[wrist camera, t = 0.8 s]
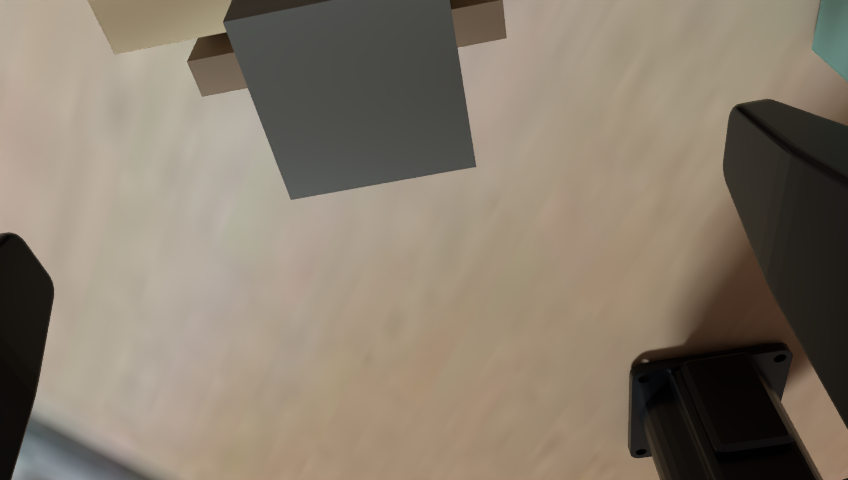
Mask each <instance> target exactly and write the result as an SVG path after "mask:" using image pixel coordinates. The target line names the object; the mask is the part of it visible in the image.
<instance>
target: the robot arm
mask: <svg viewBox="0 0 848 480" xmlns="http://www.w3.org/2000/svg"><path fill="white" fill-rule="evenodd" d="M723 172H724V178H725V181H726V184H727V187H728V189H729V192H730V194H731V197H732V199H733V202H734V204H735V207H736V209H737V212H738V214H739V217H740V219H741V222H742V224H743V227H744V229H745V232H746V234H747V237H748V239H749V242H750V244H751V247H752V249H753V252H754V254H755V257H756V259H757V262H758V265H759V267H760V269H761V271H762V274H763V276H764V278H765V281H766V283H767V285H768V287H769V288H770V290H771V292H772V294H773V296H774V298H775V300H776V302H777V303H778V305H779V307H780V309H781V311H782V312H783V314H784V316H785V318H786V320H787V321H788V323H789V325H790V327H791V329H792V330H793V332H794V334H795V336H796V337H797V339H798V341H799V343H800V345H801V346H802V348H803V350H804V352H805V354H806V355H807V357H808V359H809V361H810V363H811V364H812V366H813V368H814V370H815V372H816V373H817V375H818V377H819V379H820V381H821V382H822V384H823V386H824V388H825V389H826V391H827V393H828V395H829V397H830V398H831V400H832V402H833V404H834V406H835V407H836V409H837V411H838V413H839V415H840V416H841V418H842V420H843V422H844V424H845V425H846V427H847V429H848V126H845V125H843V124H840V123H837V122H834V121H831V120H829V119H826V118H823V117H820V116H817V115H814V114H812V113H809V112H806V111H803V110H800V109H797V108H795V107H792V106H789V105H786V104H783V103H780V102H778V101H775V100H772V99H763V100H757V101H752V102H746V103H741V104H737V105H736V106H734V107H733V108H732V110H731V112H730V115H729V119H728V127H727V135H726V143H725V151H724V159H723ZM53 299H54V286H53V282H52V280H51V277H50V276H49V274H48V273H47V271H46V270H45V269H44V267H43V266H42V265H41V263H40V262H39V260H38V259H37V258H36V256H35V255H34V254H33V252H32V251H31V249H30V248H29V247H28V245H27V244H26V242H25V241H24V240H23V239H22V238H21V237H20V236H18V235H17V234H14V233H10V232H8V233H1V234H0V480H11V479H12V475H13V472H14V469H15V465H16V462H17V458H18V455H19V452H20V448H21V445H22V442H23V438H24V435H25V432H26V428H27V425H28V422H29V418H30V415H31V411H32V408H33V404H34V400H35V396H36V392H37V387H38V382H39V377H40V372H41V366H42V360H43V355H44V349H45V344H46V338H47V333H48V327H49V321H50V316H51V310H52V305H53ZM792 357H793V356H792V352H791V351H790V349H789V347H788V346H787V345H786V344H784V343H775V344H768V345H762V346H755V347H749V348H742V349H736V350H729V351H723V352H716V353H710V354H703V355H697V356H690V357H684V358H677V359H671V360H664V361H658V362H651V363H645V364H640V365H637V366H635V367H633V368H632V369H631V370H630V376H629V422H628V448H629V451H630V454H631V456H632V457H634V458H644V457H651V456H652V458H653V460H654V463H655V466H656V469H657V472H658V475H659V478H660V480H823V479H822V477H821V475H820V473H819V471H818V469H817V468H816V466H815V464H814V462H813V460H812V458H811V457H810V455H809V453H808V451H807V449H806V447H805V445H804V444H803V442H802V440H801V438H800V436H799V434H798V433H797V431H796V429H795V427H794V425H793V423H792V421H791V420H790V418H789V416H788V414H787V412H786V410H785V409H784V407H783V405H782V403H781V399H782V395H783V392H784V388H785V384H786V380H787V376H788V372H789V368H790V364H791V361H792ZM843 480H848V478H846V479H843Z"/></svg>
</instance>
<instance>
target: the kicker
mask: <svg viewBox="0 0 848 480" xmlns="http://www.w3.org/2000/svg"><path fill="white" fill-rule="evenodd" d="M88 2H89V4H90V6H91V8H92V10H93V12H94V14H95V16H96V18H97V20H98V22H99V24H100V26H101V28H102V30H103V32H104V34H105V36H106V38H107V40H108V42H109V44H110V46H111V48H112V50H113V52H114V54H119V53H124V52H129V51H134V50H139V49H145V48H150V47H155V46H160V45H165V44H170V43H175V42H180V41H185V40H190V39H195V38H200V37H205V36H210V35H215V34H220V33H225V32H227V35H228V37H229V40H230V42H231V45H232V48H233V50H234V53H235V55H236V58H237V61H238V63H239V66H240V68H241V71H242V74H243V76H244V79H245V81H246V84H247V87H248V89H249V92H250V94H251V97H252V100H253V102H254V105H255V108H256V110H257V113H258V115H259V118H260V121H261V123H262V126H263V128H264V131H265V134H266V136H267V139H268V141H269V144H270V147H271V149H272V152H273V154H274V157H275V160H276V162H277V165H278V167H279V170H280V173H281V175H282V178H283V180H284V183H285V186H286V188H287V191H288V193H289V196H290V199H291V200H293V199H298V198H304V197H309V196H315V195H320V194H326V193H332V192H337V191H343V190H348V189H354V188H360V187H365V186H371V185H376V184H382V183H388V182H393V181H399V180H404V179H410V178H416V177H421V176H427V175H432V174H438V173H444V172H449V171H455V170H460V169H466V168H472V167H476V163H475V156H474V150H473V144H472V137H471V131H470V125H469V119H468V112H467V106H466V100H465V93H464V87H463V81H462V74H461V68H460V62H459V55H458V49H457V43H456V36H455V30H454V24H453V17H452V11H451V5H450V0H88ZM812 50H813V51H814V52H815V53H816V54H817V55H818V56H819V57H821V58H822V59H823V60H824V61H825V62H826V63H827V64H828V65H829V66H831V67H832V68H833V69H834V70H835V71H836V72H837V73H838V74H839V75H840V76H842V77H843V78H844V79H845V80H846V81H847V82H848V0H821V4H820V9H819V14H818V19H817V24H816V29H815V34H814V40H813V45H812Z"/></svg>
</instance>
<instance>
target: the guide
mask: <svg viewBox="0 0 848 480" xmlns="http://www.w3.org/2000/svg"><path fill="white" fill-rule="evenodd" d="M450 5H451V11H452V17H453V24H454V30H455V36H456V43H457V48H458V47H463V46H468V45H473V44H478V43H484V42H489V41H494V40H499V39H504V38H507V37H506V28H505V19H504V9H503V0H450ZM187 63H188V65H189V67H190V69H191V72H192V74H193V76H194V79H195V81H196V83H197V86H198V88H199V90H200V92H201V95H202V97H203V96H208V95H213V94H218V93H224V92H229V91H234V90H239V89H244V88H248V87H247V84H246V81H245V79H244V76H243V74H242V71H241V68H240V66H239V63H238V61H237V58H236V55H235V53H234V50H233V48H232V45H231V42H230V40H229V37H228V35H227V32H225V33H220V34H215V35H210V36H205V37H200V38H198V39H197V41H196V44H195V46H194V48H193V50H192V52H191V54H190V56H189V59H188V61H187Z"/></svg>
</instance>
